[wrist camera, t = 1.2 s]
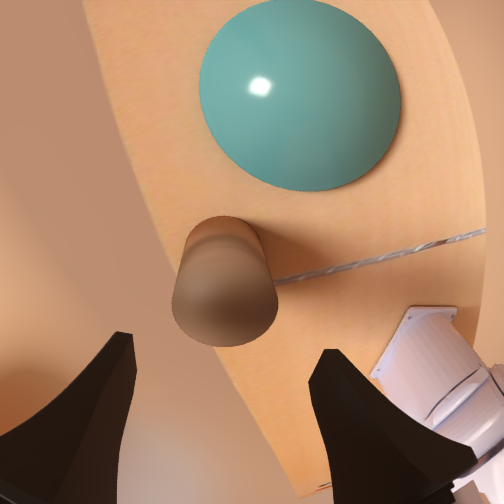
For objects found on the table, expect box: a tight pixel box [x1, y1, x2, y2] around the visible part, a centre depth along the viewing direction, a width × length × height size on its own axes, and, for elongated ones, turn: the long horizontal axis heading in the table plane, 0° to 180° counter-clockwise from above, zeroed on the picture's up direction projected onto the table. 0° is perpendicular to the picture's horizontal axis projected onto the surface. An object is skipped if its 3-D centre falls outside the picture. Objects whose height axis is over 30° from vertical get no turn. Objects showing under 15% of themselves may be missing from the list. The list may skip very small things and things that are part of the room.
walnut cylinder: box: [172, 216, 278, 347], centre depth 16 cm, size 5×5×6 cm
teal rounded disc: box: [199, 0, 401, 191], centre depth 14 cm, size 12×12×1 cm
